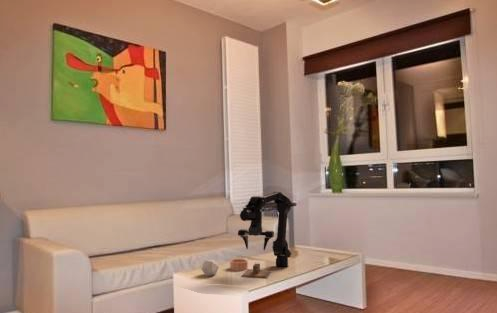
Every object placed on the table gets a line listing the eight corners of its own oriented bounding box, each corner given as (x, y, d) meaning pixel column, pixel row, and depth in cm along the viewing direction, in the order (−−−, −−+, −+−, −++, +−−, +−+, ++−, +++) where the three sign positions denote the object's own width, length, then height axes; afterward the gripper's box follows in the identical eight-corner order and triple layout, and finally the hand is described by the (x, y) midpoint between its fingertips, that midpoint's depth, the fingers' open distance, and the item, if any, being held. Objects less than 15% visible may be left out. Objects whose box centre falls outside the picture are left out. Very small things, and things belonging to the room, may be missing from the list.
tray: (271, 273, 199) (271, 272, 199) (267, 280, 185) (267, 278, 186) (246, 271, 202) (246, 270, 202) (240, 278, 189) (240, 277, 189)
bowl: (249, 268, 210) (249, 259, 210) (245, 272, 200) (245, 263, 201) (232, 267, 212) (233, 258, 212) (228, 271, 203) (228, 262, 203)
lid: (269, 272, 198) (269, 262, 199) (265, 278, 187) (265, 268, 187) (247, 271, 201) (247, 261, 201) (242, 276, 189) (242, 266, 190)
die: (216, 273, 200) (205, 259, 201) (224, 268, 194) (213, 253, 195) (206, 282, 193) (195, 267, 194) (214, 277, 188) (203, 261, 189)
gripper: (235, 220, 191) (234, 251, 189) (270, 222, 186) (270, 253, 185) (241, 218, 202) (240, 247, 200) (274, 220, 197) (274, 250, 196)
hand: (255, 249), depth 195 cm, fingers open, 9 cm apart
